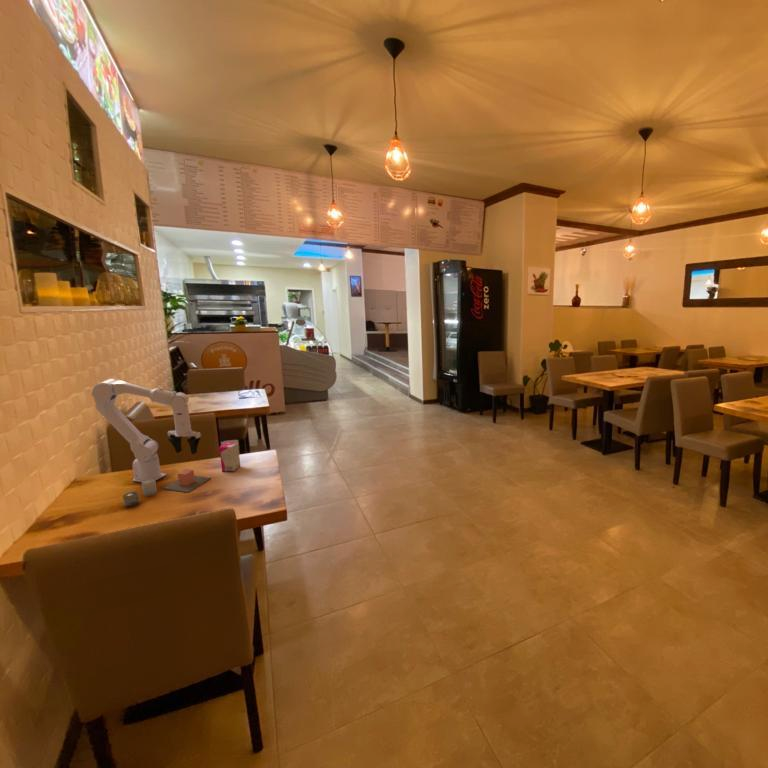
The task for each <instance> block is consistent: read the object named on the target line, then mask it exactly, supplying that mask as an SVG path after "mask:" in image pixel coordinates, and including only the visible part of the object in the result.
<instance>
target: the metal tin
mask: <svg viewBox="0 0 768 768" xmlns="http://www.w3.org/2000/svg"><path fill="white" fill-rule="evenodd" d="M122 499H123V505H124V507H125V508H133V507H135V506H138V505H139V504H140V499H139V493H138V491H137V490H135V491H134V490H133V491H129V492H126V493H124V494H123V495H122Z"/></svg>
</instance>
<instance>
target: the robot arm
mask: <svg viewBox="0 0 768 768" xmlns="http://www.w3.org/2000/svg"><path fill="white" fill-rule="evenodd" d="M123 394H129V395H134V396H140V397H144V398H149V400H150V401H151V402H153V403H157V404H160V405H164V406H168V407H169V406H170V407H171V409H172V412H173V413H172V415H173V423H174V427H175V430H168V431H167V436H168V438H167V440H168V442H169V443H170V444H171V445H172V446H173V448H174V450H175V452H176V454H179V453H181V452H182V437H184V438H185V437H186V438H188V439H186V441H187V443H188V445H189V448H190V453H191V454H192V455H195V454H197V452H198V446H199V443H200V440H201V438H202V435H201V434H202V433H201V431H200V432H199V431H195V430H192V427H191V426H192V425H191V419H190V418H191V417H190V411H189V407H188V406H189V405H188V403H189V396H188V395H187V394H186V393H184V392H182V391H179V392H177V391H175V390H174V391H169V390H166V389H165V388H164V387H161V386H160V387H156V388H153V389H151V388H148V387H145V386H140V385H137V384H133V383H131V382H127V381H124V380H121V379H117V378H116V379H115V378H108V379H107V378H106V379H105V380H104V381H102V382H98V383H96V384H95V385H93V388H92V390H91V396H92V397H93V400H94V404H95V408H96V410H97V411H98V412H99V413H100V414H101V416H102V417H103V418H105V419H106V421H108V422H109V423H110V425H111V426H113V428H114V429H115V430H116V431H117V432H118V433H119V434H120V435H121V436H122V437H123V438H124V439H125V440H126V442H128V443H129V447H130V450H131V452H132V453H133V456H134V458H135V459H134V460H133V462H132V471H133V477H134V478H133V479H132V481H133V482H139V483H142V482H143V481H145V480H147V479H155V481H156V482H157V480H159V479H162V478H164V477H166V476H167V473H163V472H162V471H161V465H160V459H159V454H158V453H157V451H158V450H159V444H158V442H157V441H156V440H154V439H152V438H150V437H149V436H148V435H145V434H143V433H142V432H141V431H140V430H139V429H138V428H137V427H136V426H135V425H134V424H133V423H132V422H131V421H130V420H129V418H127V416H126V415H125V414H124V413H123V412H122V411H121V410H120V409H119V408H118V407H117V406H116V405H115V403H116V400H117V399H116V398H117V396H119V395H123Z"/></svg>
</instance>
